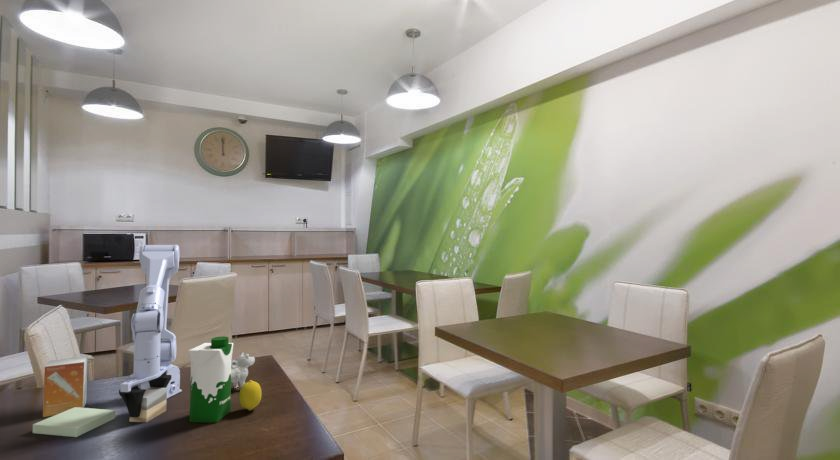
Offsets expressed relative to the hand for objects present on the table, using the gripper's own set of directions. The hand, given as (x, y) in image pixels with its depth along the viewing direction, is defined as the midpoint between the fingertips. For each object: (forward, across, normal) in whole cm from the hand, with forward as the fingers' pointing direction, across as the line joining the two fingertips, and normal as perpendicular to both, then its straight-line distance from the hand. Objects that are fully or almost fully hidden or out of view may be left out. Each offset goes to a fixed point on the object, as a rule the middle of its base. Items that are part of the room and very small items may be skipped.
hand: (146, 410), depth 105 cm
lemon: (+2, -6, +25) cm, 26 cm away
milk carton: (+2, -1, +17) cm, 17 cm away
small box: (+2, -1, -24) cm, 24 cm away
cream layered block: (+1, 0, +1) cm, 2 cm away
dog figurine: (+2, -18, +13) cm, 23 cm away
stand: (+1, +7, -13) cm, 15 cm away
